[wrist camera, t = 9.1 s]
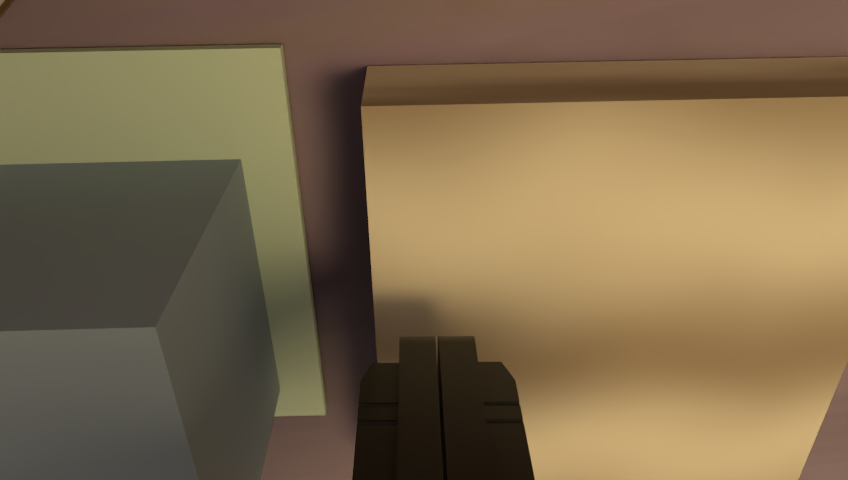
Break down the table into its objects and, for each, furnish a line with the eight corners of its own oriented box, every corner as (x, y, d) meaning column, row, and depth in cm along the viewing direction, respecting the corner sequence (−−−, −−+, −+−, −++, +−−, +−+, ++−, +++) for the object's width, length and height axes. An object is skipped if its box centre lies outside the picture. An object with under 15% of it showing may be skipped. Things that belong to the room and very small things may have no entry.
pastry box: (-119, 167, 15) (-396, 341, 10) (240, 158, 15) (155, 327, 10) (-10, 397, 18) (-169, 613, 13) (280, 389, 19) (232, 600, 13)
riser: (367, 65, 14) (360, 106, 12) (876, 56, 14) (958, 93, 12) (387, 430, 20) (386, 501, 18) (752, 419, 20) (793, 489, 18)
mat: (-128, 51, 14) (-139, 55, 14) (282, 43, 14) (280, 48, 14) (32, 415, 19) (27, 423, 19) (326, 407, 19) (325, 415, 19)
